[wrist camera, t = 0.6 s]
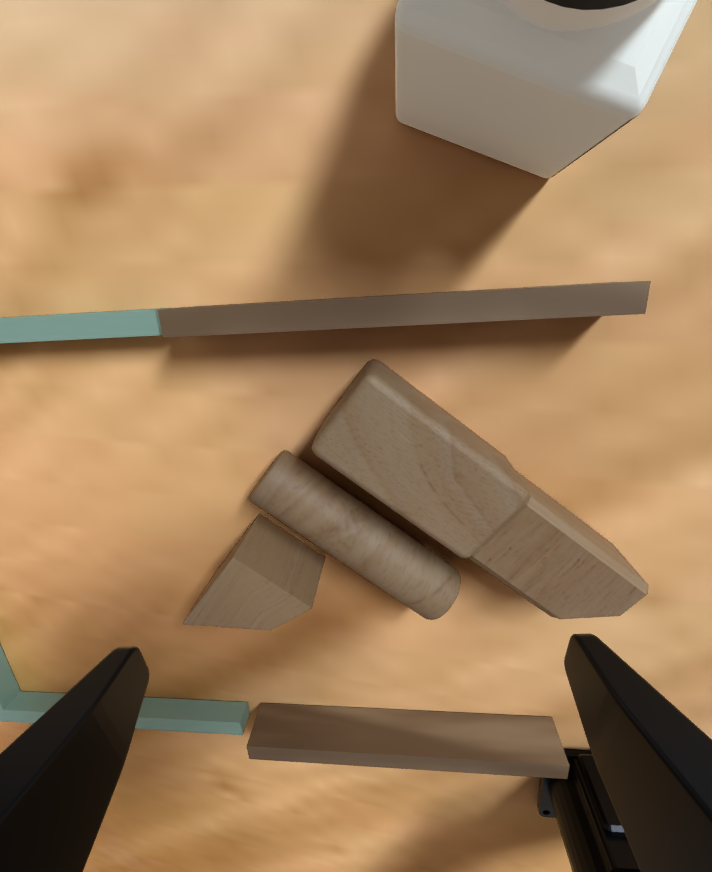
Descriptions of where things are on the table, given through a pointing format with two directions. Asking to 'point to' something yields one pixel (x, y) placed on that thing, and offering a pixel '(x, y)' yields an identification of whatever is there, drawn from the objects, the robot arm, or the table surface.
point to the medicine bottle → (530, 72)
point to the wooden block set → (422, 506)
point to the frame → (3, 692)
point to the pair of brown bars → (390, 728)
